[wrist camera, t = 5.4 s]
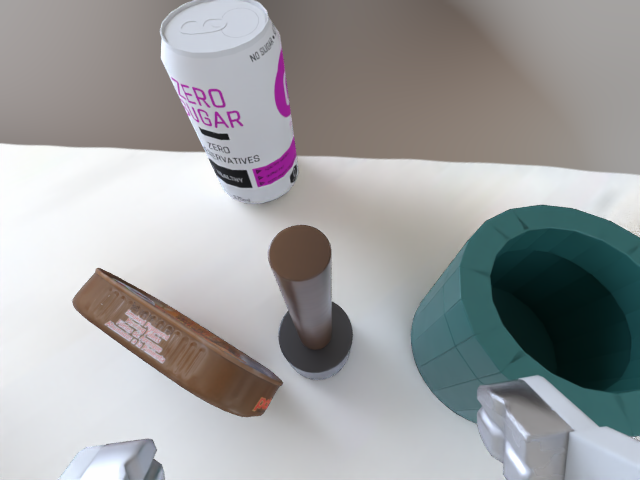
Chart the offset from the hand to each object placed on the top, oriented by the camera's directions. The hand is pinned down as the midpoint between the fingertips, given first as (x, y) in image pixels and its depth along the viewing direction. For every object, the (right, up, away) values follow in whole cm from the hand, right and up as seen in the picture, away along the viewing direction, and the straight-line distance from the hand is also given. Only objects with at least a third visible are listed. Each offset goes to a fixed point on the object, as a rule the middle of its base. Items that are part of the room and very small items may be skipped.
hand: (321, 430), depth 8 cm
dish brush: (0, -4, +17) cm, 17 cm away
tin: (-9, -4, +17) cm, 20 cm away
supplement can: (-6, +11, +26) cm, 29 cm away
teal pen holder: (+12, -3, +16) cm, 21 cm away
